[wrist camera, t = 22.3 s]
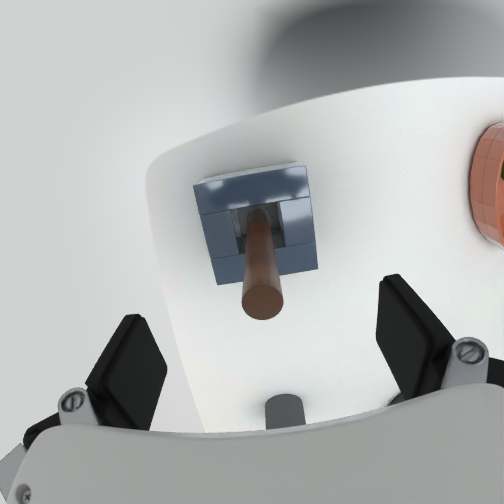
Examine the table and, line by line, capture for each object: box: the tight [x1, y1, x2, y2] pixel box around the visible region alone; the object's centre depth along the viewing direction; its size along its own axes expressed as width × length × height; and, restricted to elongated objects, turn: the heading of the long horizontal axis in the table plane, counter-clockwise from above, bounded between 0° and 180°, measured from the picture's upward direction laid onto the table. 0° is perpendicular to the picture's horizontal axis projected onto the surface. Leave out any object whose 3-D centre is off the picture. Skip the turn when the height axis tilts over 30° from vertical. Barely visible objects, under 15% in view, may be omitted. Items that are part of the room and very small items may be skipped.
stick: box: [242, 208, 283, 320], centre depth 21 cm, size 2×2×16 cm
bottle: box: [265, 394, 306, 430], centre depth 32 cm, size 6×6×15 cm
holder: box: [193, 162, 318, 285], centre depth 26 cm, size 9×9×5 cm
